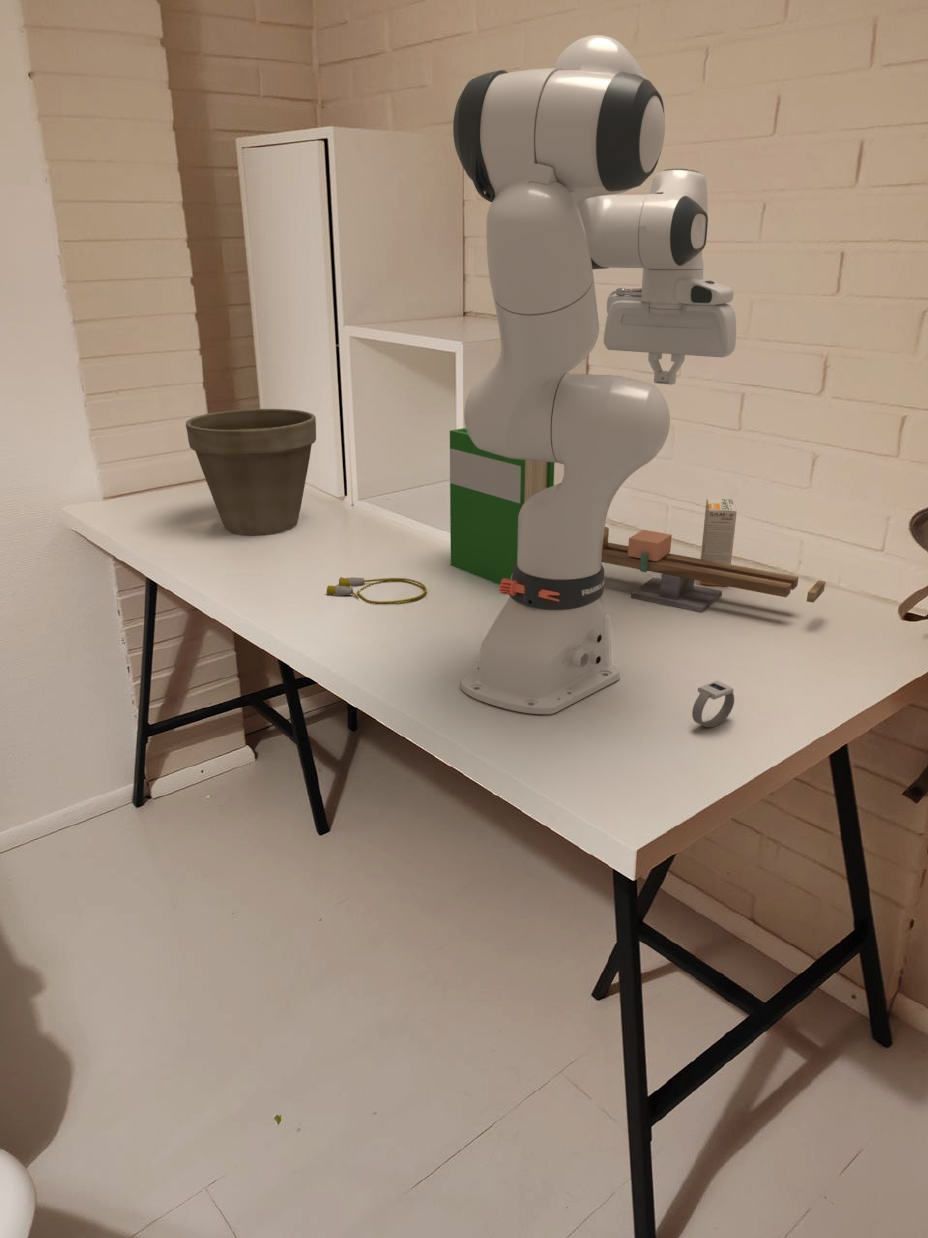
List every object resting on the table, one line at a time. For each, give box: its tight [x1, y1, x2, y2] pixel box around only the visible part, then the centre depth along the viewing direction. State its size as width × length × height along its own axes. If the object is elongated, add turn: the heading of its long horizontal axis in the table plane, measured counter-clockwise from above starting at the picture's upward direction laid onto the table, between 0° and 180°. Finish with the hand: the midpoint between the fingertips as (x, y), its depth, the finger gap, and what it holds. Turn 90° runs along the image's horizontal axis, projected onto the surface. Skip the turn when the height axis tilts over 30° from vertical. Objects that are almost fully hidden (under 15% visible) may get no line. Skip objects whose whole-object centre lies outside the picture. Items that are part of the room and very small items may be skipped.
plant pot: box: [185, 408, 317, 536], centre depth 190 cm, size 25×25×22 cm
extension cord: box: [326, 577, 428, 605], centre depth 158 cm, size 12×16×2 cm
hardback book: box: [449, 427, 555, 586], centre depth 162 cm, size 18×7×24 cm, turn 40°
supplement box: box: [700, 497, 738, 587], centre depth 162 cm, size 8×5×13 cm, turn 168°
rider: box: [627, 529, 673, 561], centre depth 156 cm, size 6×5×5 cm
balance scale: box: [601, 526, 826, 613], centre depth 154 cm, size 9×44×9 cm, turn 57°
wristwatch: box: [691, 680, 735, 728], centre depth 115 cm, size 6×3×5 cm, turn 126°
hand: (664, 383), depth 149 cm, fingers closed
